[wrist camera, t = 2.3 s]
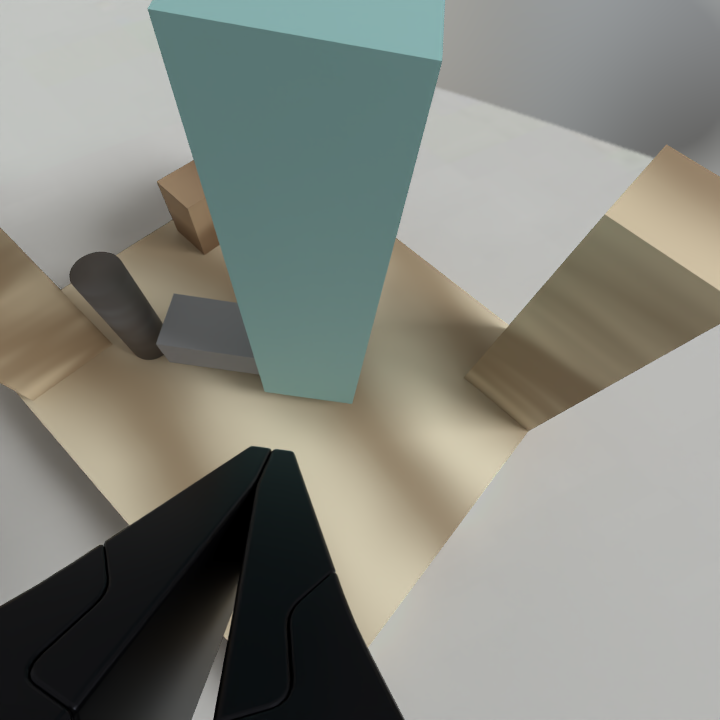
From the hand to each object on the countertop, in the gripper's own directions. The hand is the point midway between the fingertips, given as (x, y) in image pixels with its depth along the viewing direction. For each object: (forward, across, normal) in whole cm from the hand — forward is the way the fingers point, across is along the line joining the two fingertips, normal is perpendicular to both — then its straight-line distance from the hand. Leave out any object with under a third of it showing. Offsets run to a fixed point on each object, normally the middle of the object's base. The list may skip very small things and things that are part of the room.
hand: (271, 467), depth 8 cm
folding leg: (+9, +2, +1) cm, 10 cm away
